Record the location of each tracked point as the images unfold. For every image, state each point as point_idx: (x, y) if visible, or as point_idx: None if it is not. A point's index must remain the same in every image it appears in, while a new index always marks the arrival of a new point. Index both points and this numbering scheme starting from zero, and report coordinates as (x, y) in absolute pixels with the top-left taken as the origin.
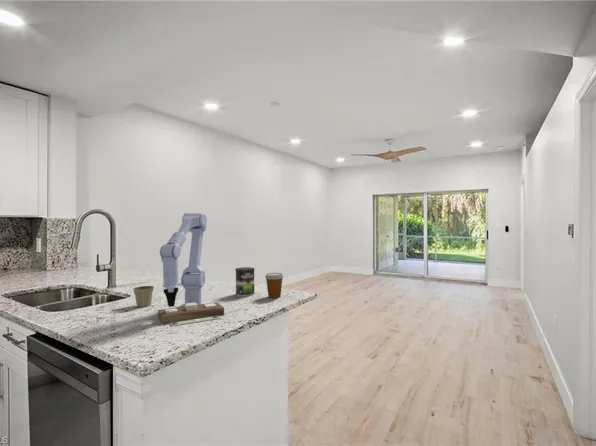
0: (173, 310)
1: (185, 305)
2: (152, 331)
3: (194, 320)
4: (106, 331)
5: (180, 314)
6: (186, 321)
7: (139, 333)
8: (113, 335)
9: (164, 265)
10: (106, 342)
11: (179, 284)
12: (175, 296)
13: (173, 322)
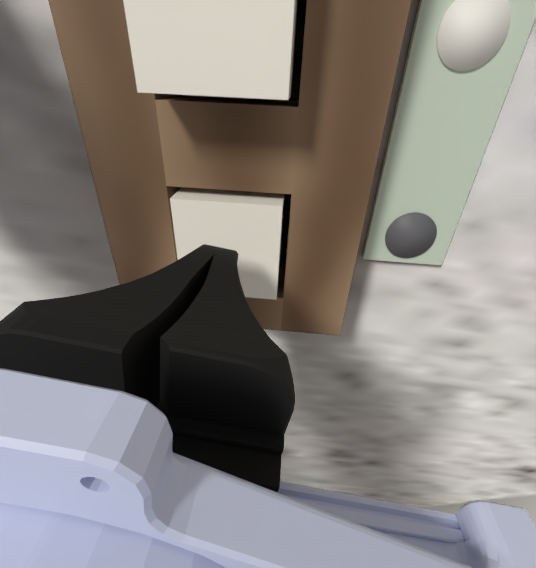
0: (253, 239)
1: (191, 94)
2: (442, 360)
3: (475, 50)
4: (286, 466)
5: (369, 192)
6: (431, 137)
7: (421, 402)
8: (362, 461)
9: None
10: (433, 481)
11: (157, 475)
12: (253, 314)
13: (374, 237)
